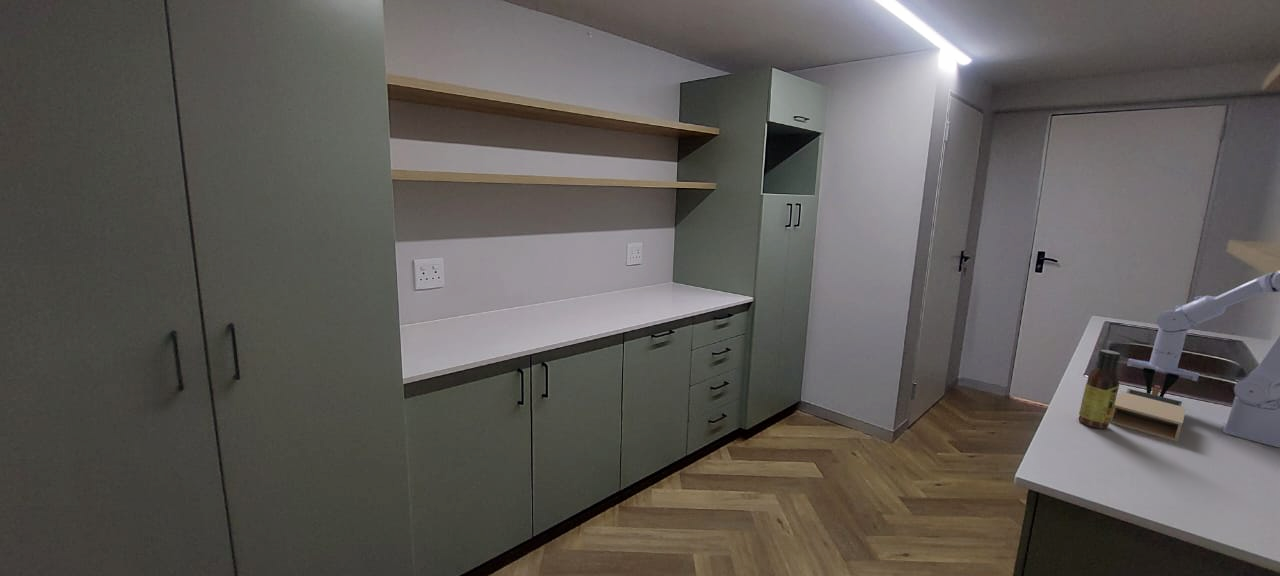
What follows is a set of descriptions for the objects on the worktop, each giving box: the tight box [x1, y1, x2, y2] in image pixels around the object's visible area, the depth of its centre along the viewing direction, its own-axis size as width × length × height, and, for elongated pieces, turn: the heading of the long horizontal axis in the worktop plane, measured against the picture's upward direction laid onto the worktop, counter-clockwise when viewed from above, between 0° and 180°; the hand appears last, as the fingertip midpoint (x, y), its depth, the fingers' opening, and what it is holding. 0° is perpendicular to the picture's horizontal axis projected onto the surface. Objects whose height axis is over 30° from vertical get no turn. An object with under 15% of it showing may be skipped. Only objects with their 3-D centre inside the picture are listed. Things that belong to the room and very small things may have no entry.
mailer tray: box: [1119, 385, 1183, 427], centre depth 146 cm, size 20×11×4 cm, turn 132°
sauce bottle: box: [1078, 349, 1121, 429], centre depth 135 cm, size 7×6×20 cm
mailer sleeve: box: [1109, 391, 1187, 443], centre depth 138 cm, size 15×13×5 cm
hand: (1154, 396), depth 152 cm, fingers closed
